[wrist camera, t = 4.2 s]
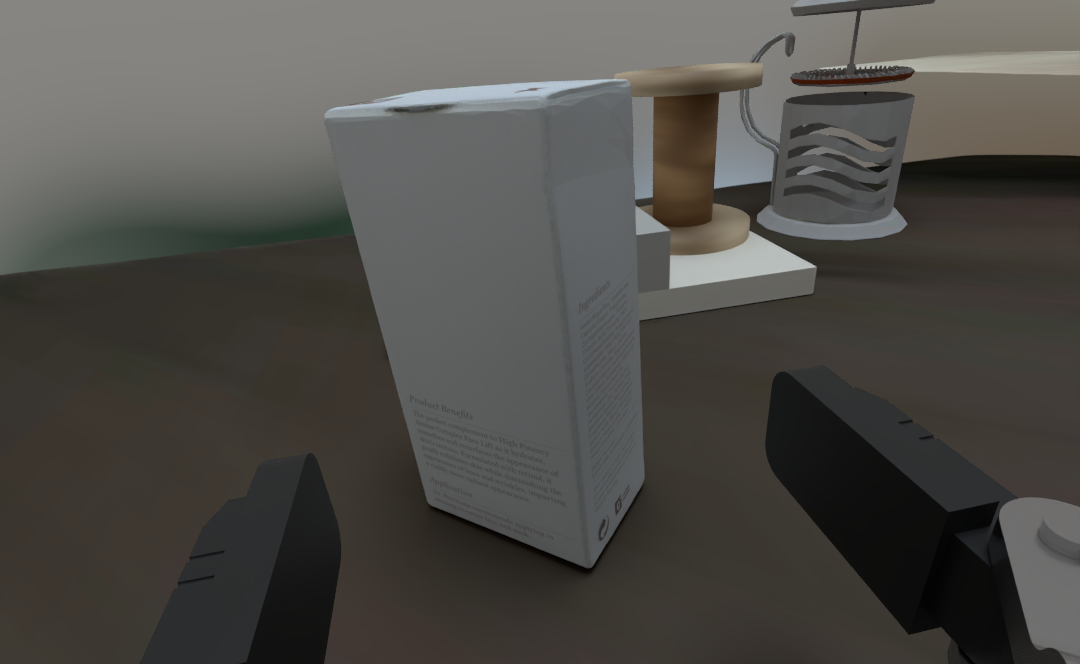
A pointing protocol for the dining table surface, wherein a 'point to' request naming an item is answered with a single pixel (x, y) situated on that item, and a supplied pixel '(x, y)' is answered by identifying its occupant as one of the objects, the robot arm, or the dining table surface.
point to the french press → (837, 143)
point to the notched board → (712, 274)
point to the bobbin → (691, 152)
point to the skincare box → (507, 297)
